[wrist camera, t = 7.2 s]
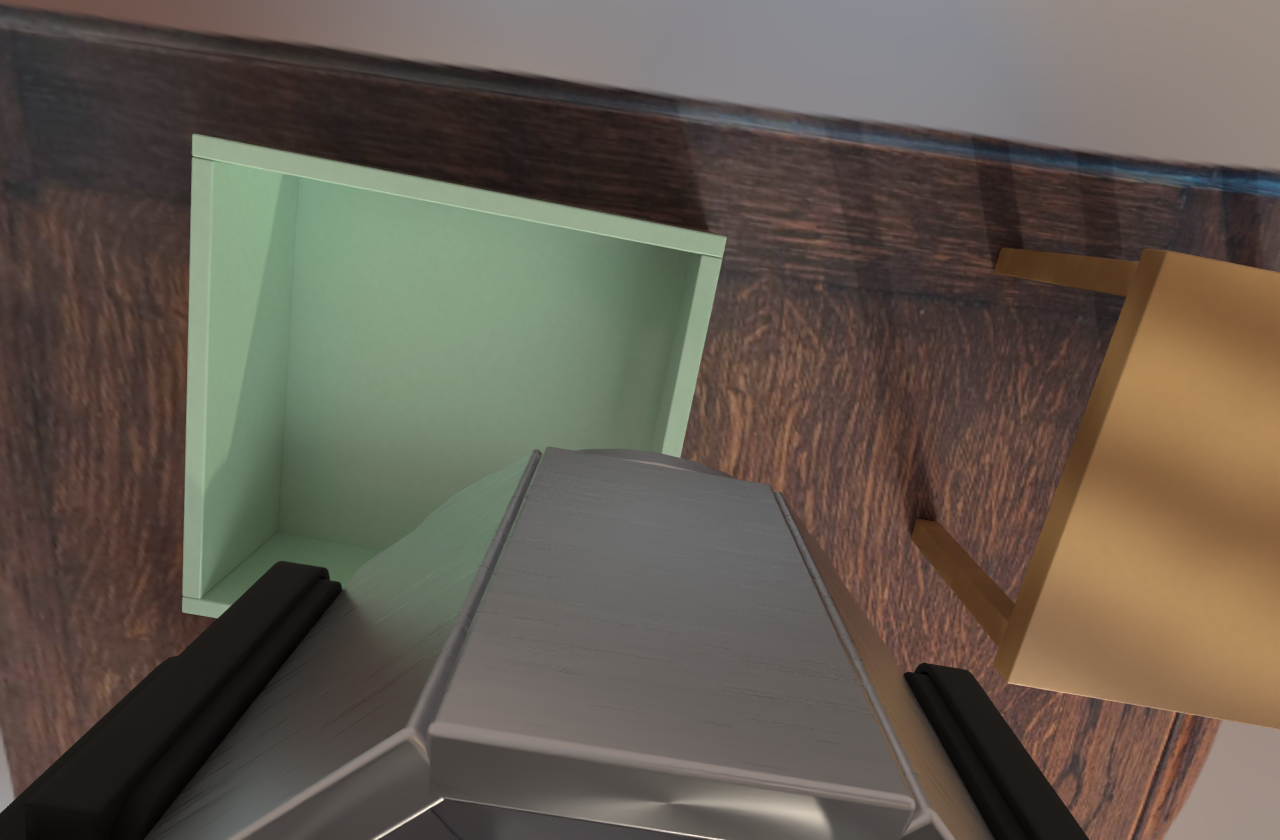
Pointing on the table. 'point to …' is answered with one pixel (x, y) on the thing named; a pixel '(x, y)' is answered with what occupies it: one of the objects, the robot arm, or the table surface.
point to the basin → (407, 351)
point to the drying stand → (1155, 502)
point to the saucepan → (587, 681)
